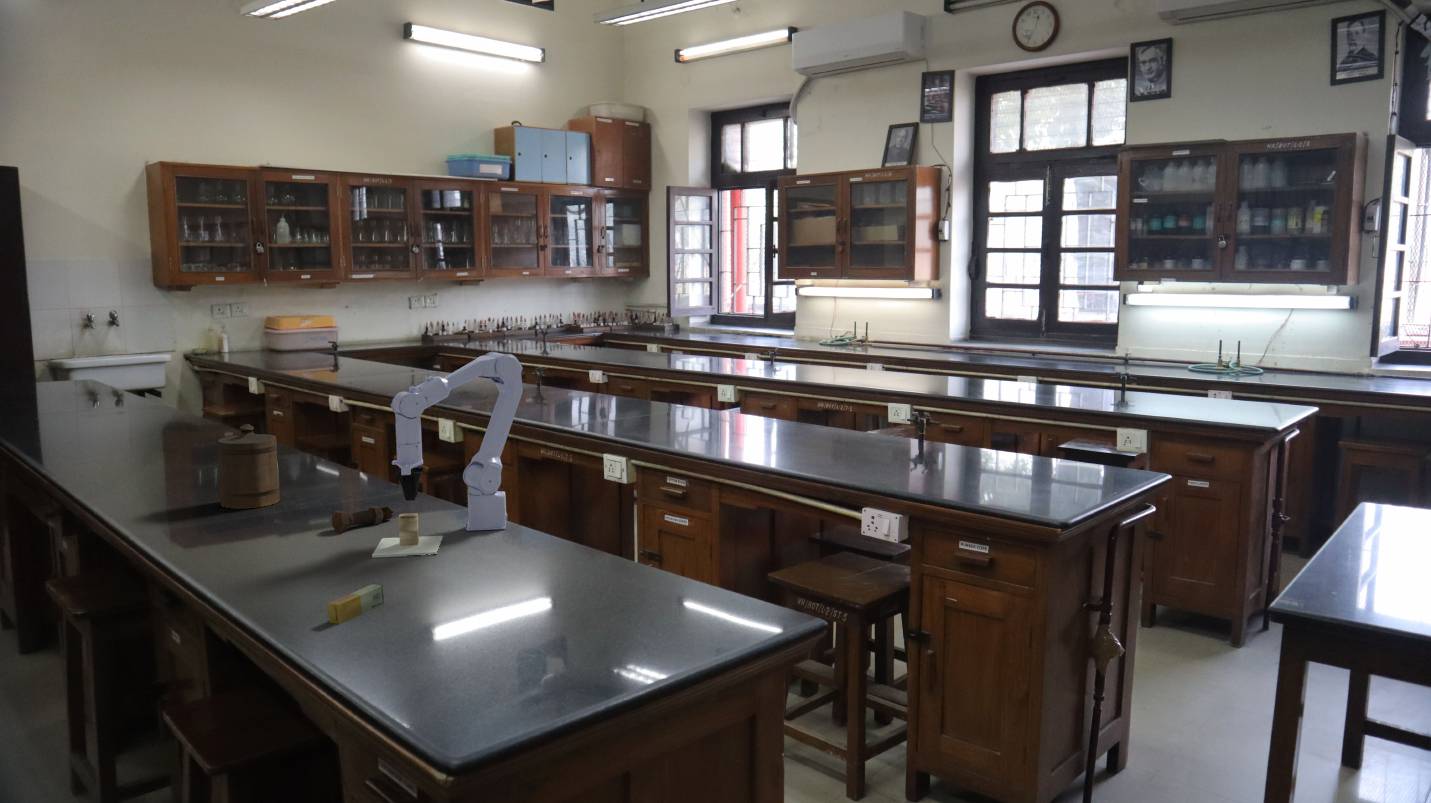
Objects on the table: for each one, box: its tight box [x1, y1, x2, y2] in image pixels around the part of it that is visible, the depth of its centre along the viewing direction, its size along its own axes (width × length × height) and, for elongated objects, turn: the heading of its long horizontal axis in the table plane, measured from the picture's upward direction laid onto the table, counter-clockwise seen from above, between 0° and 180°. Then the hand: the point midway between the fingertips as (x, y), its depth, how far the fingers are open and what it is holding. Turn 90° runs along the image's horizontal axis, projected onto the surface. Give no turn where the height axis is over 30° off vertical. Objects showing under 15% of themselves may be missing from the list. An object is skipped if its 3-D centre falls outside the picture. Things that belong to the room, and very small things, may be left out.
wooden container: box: [217, 423, 281, 510], centre depth 266 cm, size 15×15×22 cm
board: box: [371, 535, 444, 559], centre depth 225 cm, size 14×14×1 cm
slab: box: [398, 512, 420, 546], centre depth 225 cm, size 4×2×7 cm, turn 100°
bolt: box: [331, 505, 394, 533], centre depth 244 cm, size 6×5×15 cm
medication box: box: [327, 583, 385, 625], centre depth 182 cm, size 12×3×4 cm, turn 157°
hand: (411, 498), depth 231 cm, fingers open, 3 cm apart
